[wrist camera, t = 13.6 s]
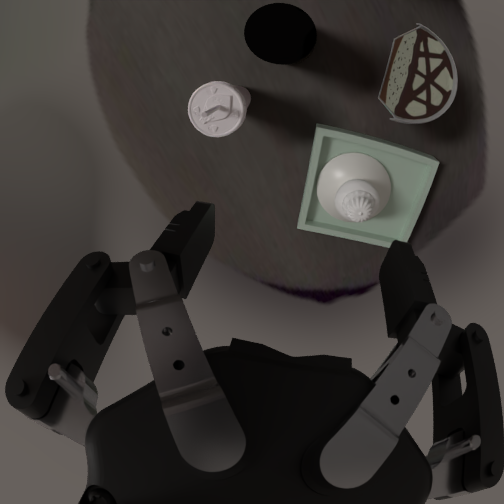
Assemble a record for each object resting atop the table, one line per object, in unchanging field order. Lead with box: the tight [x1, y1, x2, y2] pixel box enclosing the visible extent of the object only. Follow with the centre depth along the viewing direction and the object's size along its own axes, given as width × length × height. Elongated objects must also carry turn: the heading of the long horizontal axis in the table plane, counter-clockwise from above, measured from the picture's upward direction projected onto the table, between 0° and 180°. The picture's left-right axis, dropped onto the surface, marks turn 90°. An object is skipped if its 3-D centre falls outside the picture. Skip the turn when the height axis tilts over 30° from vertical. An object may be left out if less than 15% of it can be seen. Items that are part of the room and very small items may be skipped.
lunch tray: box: [297, 123, 439, 248], centre depth 37 cm, size 16×18×2 cm
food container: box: [378, 23, 458, 124], centre depth 22 cm, size 12×6×10 cm, turn 170°
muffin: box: [334, 178, 380, 222], centre depth 34 cm, size 6×6×7 cm
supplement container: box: [244, 3, 317, 64], centre depth 23 cm, size 7×7×10 cm
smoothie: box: [188, 81, 251, 137], centre depth 28 cm, size 6×6×14 cm
